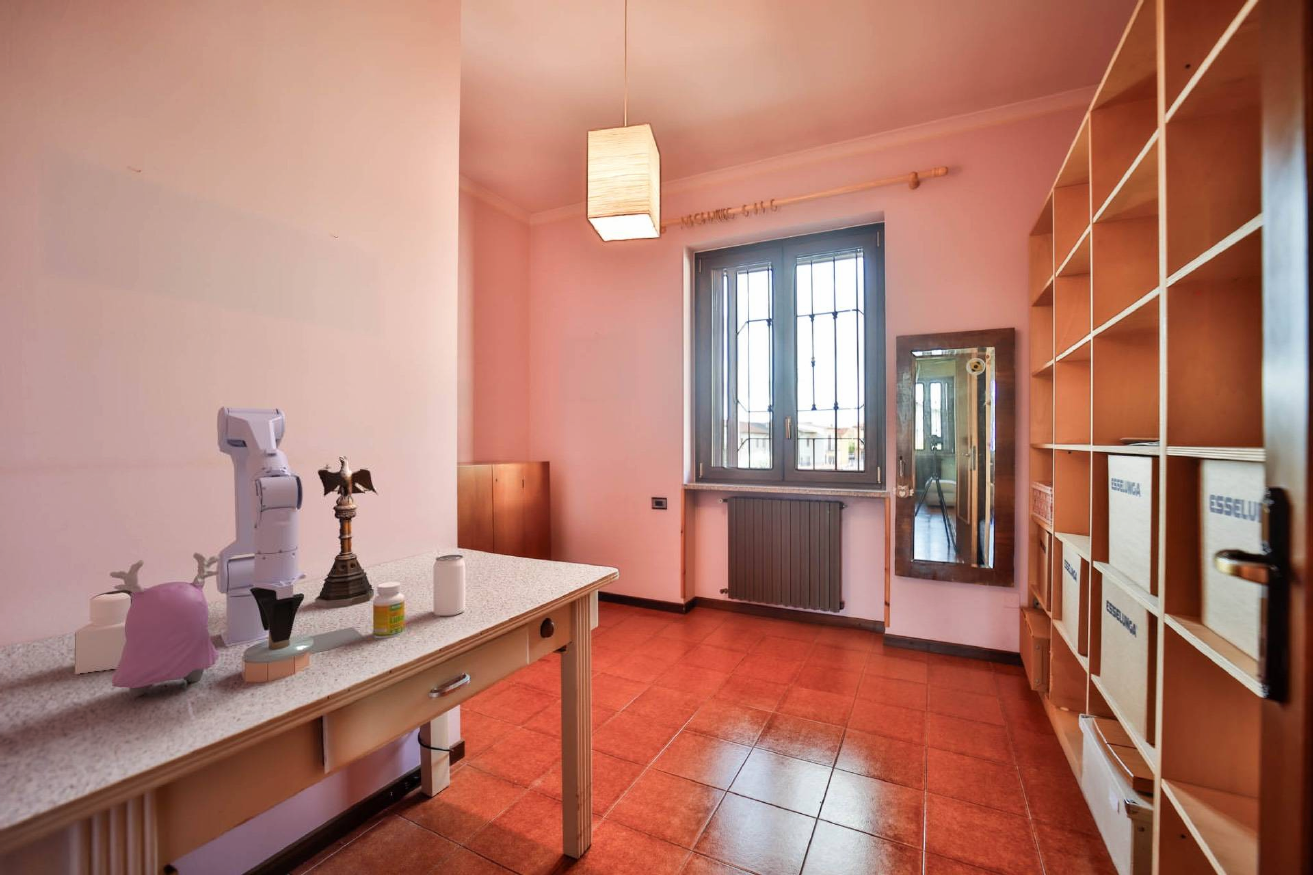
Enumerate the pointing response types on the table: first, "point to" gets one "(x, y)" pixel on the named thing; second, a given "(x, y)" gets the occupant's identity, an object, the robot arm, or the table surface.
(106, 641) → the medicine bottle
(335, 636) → the mat
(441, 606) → the can
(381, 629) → the supplement bottle
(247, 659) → the lid
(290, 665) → the bowl
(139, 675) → the toy character
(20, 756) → the table surface
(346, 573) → the bird statue
